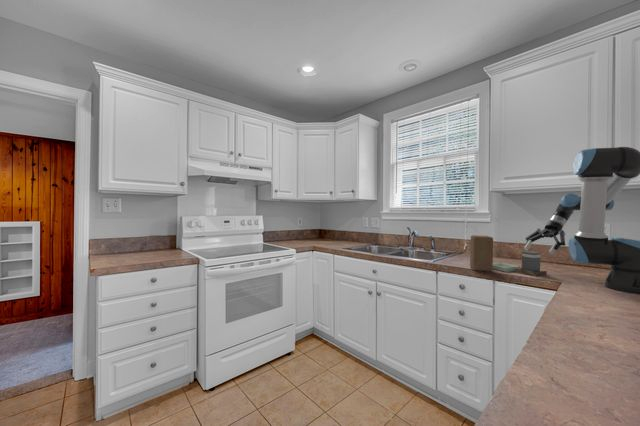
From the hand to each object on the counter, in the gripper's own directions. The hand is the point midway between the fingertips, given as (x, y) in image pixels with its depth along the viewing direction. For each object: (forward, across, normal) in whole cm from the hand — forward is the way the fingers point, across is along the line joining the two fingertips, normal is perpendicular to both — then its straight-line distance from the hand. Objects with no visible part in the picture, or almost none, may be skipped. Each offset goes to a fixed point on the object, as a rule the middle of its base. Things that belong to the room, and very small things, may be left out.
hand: (537, 251), depth 161 cm
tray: (+17, +12, 0) cm, 21 cm away
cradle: (+13, -1, -3) cm, 14 cm away
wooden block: (+27, +15, +10) cm, 32 cm away
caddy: (+14, -1, -3) cm, 14 cm away
